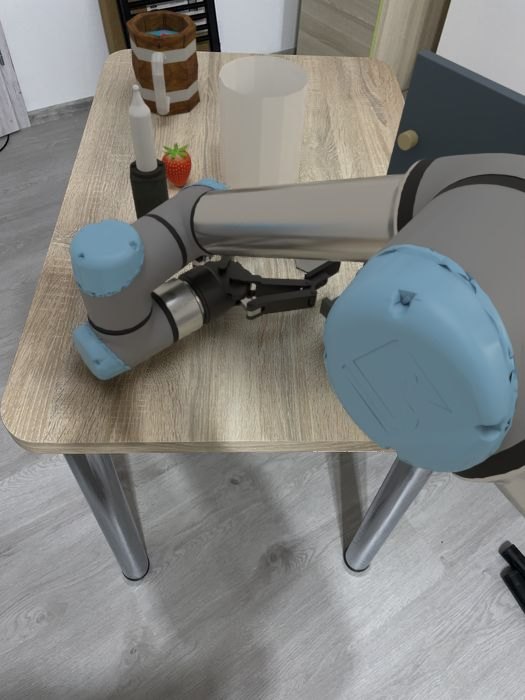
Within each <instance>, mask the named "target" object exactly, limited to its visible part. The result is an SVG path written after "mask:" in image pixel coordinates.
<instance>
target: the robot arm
mask: <svg viewBox="0 0 525 700" xmlns="http://www.w3.org/2000/svg"><path fill="white" fill-rule="evenodd" d="M69 256H70V263H71V269H72V273H73V279H74V281H75V284H76V286H77V288H78V291H79V293H80V296H81V299H82V301H83V304H84V307H85V309H86V314H87V315H86V316H87V320H86V321H84V322H82V323H81V324H80V325H78V326H77V327H75V328H74V329H73V331H72V341H73V343H74V344H73V345H74V346H75V348H76V351H77V353H78V354H79V356H80V357H81V359H82V361H83V363H84V364H85V365H86V367H87V369H88V370H89V371H90V372H91V373H92V374H93V376H95V377H96V378H97V379H98V380H101V381H108V380H111V379H113V378H115V377H117V376H119V375H120V374H123V373H124V372H127V371H131V370H133V369H134V368H135V367H136V366H138V365H140V364H142V363H144V362H145V361H147V360H148V359H150V358H151V357H153V356H155V355H157V354H158V353H160V352H162V351H163V350H165V349H167V348H169V347H170V346H172V345H173V344H175V343H177V342H179V341H180V340H182V339H184V338H185V337H187V336H189V335H191V334H193V333H194V332H196V331H198V330H200V329H201V328H202V327H203V325H205V326H206V325H209V324H210V323H212V322H214V321H216V320H218V319H219V318H221V317H223V316H225V315H226V314H227V313H228V312H229V311H230V310H231V309H232V308H234V307H241V308H242V310H244V312H245V313H246V314H245V317H246V320H248V321H253V320H255V319H257V318H260V317H262V316H265V315H272V314H279V313H284V312H285V313H286V312H291V311H298V310H305V309H310V308H315V306H316V304H317V298H318V297H317V296H318V290H319V289H321V288H323V287H324V286H325V285H327V284H328V283H329V279H330V278H331V277H333V276H335V275H336V274H338V273H339V272H340V270H341V269H340V268H341V264H342V262H344V263H345V262H346V263H363V264H364V263H366V264H365V265H364V266H363V265H362V267H360V268H359V269H358V270H357V271H356V273H355V275H354V277H353V279H352V280H351V281H350V282H349V284H348V285H347V286H346V287H345V288H344V290H343V291H342V292H341V293H340V294H339V295H340V296H339V295H338V296H339V297H338V296H337V297H338V299H337V300H336V301H335V303H334V304H333V306H332V308H331V309H330V312H329V314H328V316H327V318H325V323H324V328H323V333H322V342H323V347H324V350H323V354H322V356H323V358H322V359H323V363H324V367H325V372H326V375H327V378H328V381H329V383H330V385H331V388H332V390H333V392H334V394H335V396H336V399H337V400H338V401H339V403H340V405H341V406H342V408H343V409H344V411H345V412H346V414H347V415H348V416H349V418H350V419H351V421H352V422H353V423H354V424H355V425H356V426H357V427H358V429H359V430H360V431H362V433H363V434H365V436H367V438H369V440H371V441H372V442H373V443H374V444H375V445H376V446H378V447H380V448H381V449H382V450H385V451H387V450H389V449H390V448H391V449H392V450H393V451H394V452H395V453H396V456H397V458H398V459H399V460H400V461H401V462H404V463H406V464H407V465H410V466H412V467H415V468H418V469H422V470H425V471H429V472H434V473H447V474H448V473H449V474H451V473H452V475H453V476H455V477H456V478H458V479H460V480H462V481H464V482H471V483H487V484H488V483H492V484H494V486H495V487H496V489H498V490H499V491H500V493H501V494H502V495H503V496H504V497H505V498H506V499H507V501H508V502H509V503H510V504H511V505H512V506H513V507H514V508H515V510H516V511H517V512H518V513H519V514H520V515H521V516H522V517H523V519H525V156H524V155H516V154H507V153H483V154H467V155H455V156H446V157H437V158H427V159H421V160H419V161H417V162H416V163H414V164H413V165H412V166H411V167H410V168H409V170H408V171H407V172H406V174H395V175H386V174H385V175H383V174H382V175H374V176H361V177H350V178H349V177H348V178H339V179H338V178H337V179H326V180H315V181H304V182H296V183H291V184H279V185H268V186H256V187H245V188H233V189H232V188H230V187H229V186H227V185H226V184H225V183H224V182H219V181H217V179H215V178H213V177H207V178H206V177H205V178H202V179H199V180H198V181H196V182H194V183H192V184H189V185H186V186H184V187H183V188H181V190H179V191H178V192H177V193H176V194H174V195H173V196H171V197H169V199H168V200H167V201H165V202H164V203H162V204H161V205H159V206H158V207H157V208H155V209H154V210H152V211H151V212H149V213H148V214H146V215H145V216H143V217H141V218H139V219H138V220H137V219H136V220H135V221H133V222H132V223H130V224H129V223H127V222H125V221H122V220H118V219H102V220H101V221H100V222H97V223H94V222H91V223H88V224H86V225H84V226H82V227H81V228H79V229H78V230H77V232H75V234H74V235H73V236H72V238H71V240H70V245H69ZM214 256H217V257H219V256H220V260H211V259H213V257H214ZM236 257H241V258H263V259H284V260H295V259H301V260H321V261H327V262H325V263H323V264H322V265H320V266H318V267H317V268H315V269H313V270H311V271H310V272H306V273H305V274H304V275H303V276H304V277H303V278H277V277H262V276H261V275H260V274H252V272H251V271H249V269H246V268H245V267H243V265H242V263H241V262H239V261H238V260H237V261H235V259H236ZM190 264H191V268H190V269H188V270H186V271H184V272H183V273H180V274H179V275H178V277H174V276H175V275H176V274H178V273H179V272H180V271H181V270H183V269H185V267H187V266H189V265H190ZM172 277H173V278H172ZM253 285H255V288H254V289H252V287H253Z"/></svg>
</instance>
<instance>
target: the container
mask: <svg viewBox="0 0 525 700" xmlns="http://www.w3.org/2000/svg"><path fill="white" fill-rule="evenodd" d="M309 85H310V78H309V76H308V73H307V70H306V69H305V68H303V67H302V66H300V65H299V64H298V63H296V62H295V61H293V60H290V59H287V58H286V59H285V58H282V57H279V56H275V55H257V54H254V55H248V56H243V57H236V58H234V59H232V60H231V61H229V62H227V63H225V64H223V65H222V67H221V69H220V71H219V74H218V106H219V107H218V109H219V111H218V112H219V116H218V117H219V151H220V152H219V156H220V157H219V159H220V160H219V161H220V162H219V163H220V165H219V166H220V176H221V178H222V180H223V183H224V184H225V185H226V186H227V187H228V188H229V189H233V188H245V187H256V186H268V185H279V184H291V183H297V181H298V180H299V176H300V168H301V167H300V166H301V159H302V148H303V140H304V139H303V138H304V133H305V132H304V130H305V121H306V114H307V113H306V112H307V104H308V103H307V102H308V96H309V95H308V94H309Z"/></svg>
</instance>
